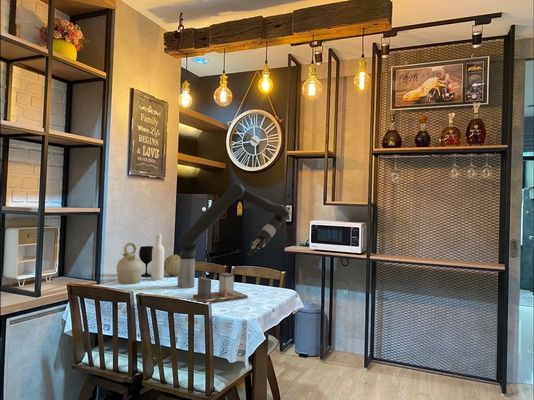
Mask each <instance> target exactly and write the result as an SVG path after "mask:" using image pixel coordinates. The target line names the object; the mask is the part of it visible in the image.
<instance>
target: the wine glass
mask: <svg viewBox="0 0 534 400" xmlns="http://www.w3.org/2000/svg"><path fill="white" fill-rule="evenodd" d="M153 247H154V246H153V245H142V246H140V247H139V251H138V256H139V257H138V258H139V259H140V260H141V262H142V264H144V265H145V272H144V273H142V274H141V278H151V274H152V273H148V265H149V264H150V263H152V249H153Z"/></svg>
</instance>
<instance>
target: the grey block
mask: <svg viewBox="0 0 534 400" xmlns="http://www.w3.org/2000/svg"><path fill="white" fill-rule="evenodd" d="M234 280H235V274H234V273H229V272H221V273H219V278H218V282H219V283H218V292H219V294H222V295H224V289H225V288H226V289H228V291H227V296H229V295H233V290H234V289H235V288H234V283H235V281H234Z"/></svg>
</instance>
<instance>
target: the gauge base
mask: <svg viewBox="0 0 534 400" xmlns="http://www.w3.org/2000/svg"><path fill="white" fill-rule="evenodd" d="M192 298H193V299H195V300H197V301H200V302H201V301H202V302H201V303H203V302H210V303H211V304H217V302H218V303H224V302H231V301H238V300H239V301H240V300H245V299H249V295H247V294H244V293H242V292H239V291H236V290H234V289H233V295H229V296H227V297H224V296H223V295H222V294H219V291H213V292H212V291H211V299H203V298H201V297H199V296H198V293H196V294H192Z"/></svg>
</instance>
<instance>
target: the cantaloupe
mask: <svg viewBox="0 0 534 400" xmlns="http://www.w3.org/2000/svg"><path fill="white" fill-rule="evenodd" d="M179 265H180V255H178V254H177V253H175V254H172V255H169V256H167V257H166V258H165V259H164V273H166V274H167V275H168V276H170V277H178V271H179Z"/></svg>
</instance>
